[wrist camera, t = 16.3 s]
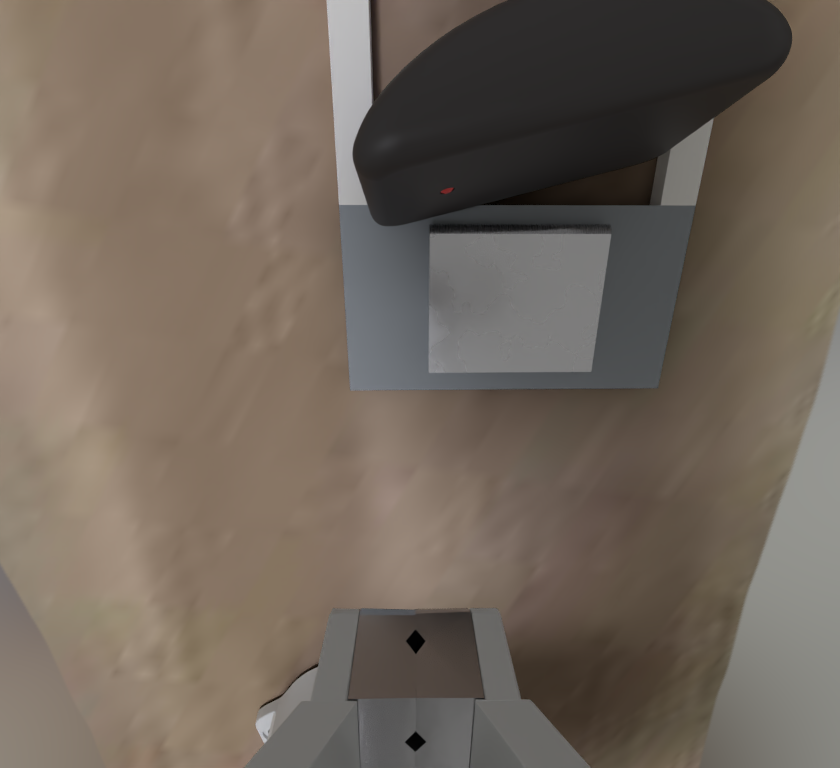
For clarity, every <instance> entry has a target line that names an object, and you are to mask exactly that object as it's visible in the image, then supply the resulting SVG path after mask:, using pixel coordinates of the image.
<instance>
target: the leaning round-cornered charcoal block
mask: <svg viewBox="0 0 840 768" xmlns="http://www.w3.org/2000/svg"><path fill="white" fill-rule="evenodd" d="M791 44H792V32H791V28H790V26H789V24H788V22H787V20H786V19H785V17H784V16H783V14H782V13H781V12H780V11H779V10H778V9H777V8H776V7H775V6H774V5H773V4H771V3H770V2H768V1H767V0H508V1H505V2H503V3H501V4H498V5H496V6H494V7H492V8H490V9H488V10H486V11H484V12H482V13H480V14H478V15H476V16H474V17H473V18H471V19H469V20H468V21H466V22H464V23H462V24H461V25H459V26H457V27H456V28H454V29H453V30H451V31H450V32H448V33H447V34H445V35H444V36H442V37H441V38H439V39H438V40H437V41H435V42H434V43H433V44H432V45H430V46H429V47H428V48H426V49H425V50H424V51H423V52H421V53H420V54H419V55H418V56H417V57H416V58H415V59H413V60H412V61H411V62H410V63H409V64H408V65H407V66H406V67H404V68H403V70H402V71H401V72H400V73H399V74H398V75H397V76H396V77H395V78H394V79H393V80H392V81H391V82H390V83H389V84H388V85H387V87H386V88H385V89H384V90H383V91H382V92H381V94H380V95H379V96H378V97H377V99H376V100H375V101H374V103H373V104H372V106H371V107H370V109H369V110H368V112H367V114H366V116H365V117H364V119H363V121H362V123H361V126H360V128H359V130H358V133H357V135H356V138H355V141H354V145H353V152H352V155H353V162H354V166H355V169H356V172H357V175H358V178H359V181H360V184H361V187H362V190H363V193H364V196H365V199H366V202H367V205H368V208H369V211H370V214H371V216H372V218H373V220H374V221H375V222H376V223H378V224H379V225H382V226H399V225H404V224H409V223H412V222H416V221H420V220H424V219H428V218H432V217H436V216H439V215H443V214H447V213H451V212H455V211H459V210H463V209H466V208H470V207H474V206H478V205H482V204H486V203H490V202H493V201H497V200H501V199H505V198H509V197H513V196H516V195H520V194H524V193H528V192H532V191H536V190H540V189H543V188H547V187H551V186H555V185H559V184H563V183H567V182H570V181H574V180H578V179H582V178H586V177H590V176H594V175H597V174H601V173H605V172H609V171H613V170H617V169H620V168H624V167H628V166H632V165H636V164H639V163H642V162H645V161H648V160H651V159H653V158H656V157H658V156H660V155H663V154H664V153H666V152H667V151H669V150H670V149H671V148H673V147H674V146H676V145H677V144H678V143H680V142H681V141H682V140H684V139H685V138H687V137H688V136H689V135H691V134H692V133H694V132H695V131H696V130H698V129H699V128H700V127H702V126H703V125H705V124H706V123H707V122H709V121H710V120H712V119H713V118H714V117H716V116H717V115H718V114H720V113H721V112H723V111H724V110H725V109H727V108H728V107H730V106H731V105H732V104H734V103H735V102H736V101H738V100H739V99H741V98H742V97H743V96H745V95H746V94H748V93H749V92H750V91H752V90H753V89H754V88H756V87H757V86H759V85H760V84H761V83H763V82H764V81H766V80H767V79H768V78H770V77H771V76H772V75H773V74H774V73H775V72H776V71H777V70H778V69H779V68H780V67H781V66H782V64H783V63H784V61H785V60H786V58H787V56H788V54H789V51H790V48H791Z"/></svg>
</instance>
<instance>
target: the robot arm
mask: <svg viewBox="0 0 840 768" xmlns="http://www.w3.org/2000/svg"><path fill="white" fill-rule="evenodd" d="M256 728H257V730H258V732H259V734H260V736H261V738H262V740H263V742H264V745H263V746H262V747H261V748H260V749H259V751H258V752H257V753H256V754H255V755H254V756H253V758H252V759H251V760H250V761H249V762H248V763H247V765H246V766H245V767H244V768H591V767H590V766H589V765H588V764H587V763H586V762H585V761H584V759H583V758H582V757H581V756H580V755H579V754H578V753H577V751H576V750H575V749H574V748H573V747H572V746H571V745H570V744H569V742H568V741H567V740H566V739H565V738H564V737H563V736H562V735H561V733H560V732H559V731H558V730H557V729H556V728H555V727H554V725H553V724H552V723H551V722H550V721H549V720H548V719H547V718H546V716H545V715H544V714H543V713H542V712H541V711H540V710H539V709H538V707H537V706H536V705H535V704H534V703H533V702H532V701H531V700H529V699H521V696H520V692H519V688H518V684H517V680H516V676H515V672H514V667H513V663H512V659H511V655H510V651H509V647H508V643H507V639H506V635H505V630H504V626H503V622H502V618H501V614H500V612H499V610H498V609H497V608H470V609H468V608H453V609H415V610H405V609H364V608H361V609H341V608H333V609H332V611H331V613H330V615H329V618H328V623H327V627H326V632H325V636H324V641H323V646H322V650H321V655H320V659H319V664H318V667H317V668H314V669H312V670H310V671H308V672H307V673H305V674H304V675H302V676H301V677H299V678H298V679H297V680H296V681H295V682H294V683H293V684H292V685H291V686H290V687H289V689H288V690H287V691H286V692H285V694H284V695H283V696H282V697H280V698H279V699H277V700H275V701H273V702H271V703H269V704H267V705H265V706H264V707H262V708H261V709H260V710H259V711H258V715H257V719H256Z"/></svg>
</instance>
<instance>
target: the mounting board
mask: <svg viewBox="0 0 840 768" xmlns="http://www.w3.org/2000/svg"><path fill="white" fill-rule="evenodd" d="M327 12H328V29H329V46H330V62H331V79H332V95H333V112H334V129H335V145H336V162H337V179H338V195H339V212H340V229H341V245H342V262H343V279H344V295H345V312H346V329H347V345H348V362H349V378H350V390H473V389H618V388H658V385H659V380H660V375H661V370H662V366H663V361H664V356H665V351H666V346H667V341H668V337H669V332H670V327H671V322H672V317H673V313H674V308H675V303H676V298H677V293H678V288H679V284H680V279H681V274H682V269H683V264H684V259H685V255H686V250H687V245H688V240H689V235H690V231H691V226H692V221H693V216H694V211H695V206H696V202H697V197H698V192H699V187H700V182H701V177H702V173H703V168H704V163H705V158H706V153H707V149H708V144H709V139H710V134H711V129H712V124H713V120H714V118H713V119H712V120H710V121H709V122H707V123H706V124H705V125H703V126H702V127H700V128H699V129H698V130H696V131H695V132H694V133H692V134H691V135H689V136H688V137H687V138H685V139H684V140H682V141H681V142H680V143H678V144H677V145H676V146H674V147H673V148H671V149H670V150H669V151H667V152H666V153H664V154H663V155H660V156H658V159H657V165H656V171H655V176H654V182H653V188H652V194H651V200H650V205H478V206H474V207H470V208H466V209H463V210H459V211H455V212H451V213H447V214H443V215H439V216H436V217H432V218H428V219H424V220H420V221H416V222H412V223H409V224H404V225H399V226H382V225H379V224H378V223H376V222H375V221H374V220H373V218H372V216H371V214H370V211H369V208H368V205H367V202H366V199H365V196H364V193H363V190H362V187H361V184H360V181H359V178H358V175H357V172H356V169H355V166H354V162H353V155H352V152H353V145H354V141H355V138H356V135H357V133H358V130H359V128H360V126H361V123H362V121H363V119H364V117H365V116H366V114H367V112H368V110H369V109H370V107H371V106H372V104H373V103H374V100H373V68H372V37H371V5H370V0H327ZM429 224H609V225H611V229H612V233H611V240H610V247H609V254H608V260H607V267H606V274H605V281H604V288H603V295H602V302H601V308H600V315H599V322H598V329H597V336H596V343H595V350H594V356H593V363H592V370H591V372H486V373H429V371H428V318H429Z"/></svg>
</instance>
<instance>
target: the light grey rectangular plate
mask: <svg viewBox="0 0 840 768" xmlns="http://www.w3.org/2000/svg"><path fill="white" fill-rule="evenodd" d="M611 233H612V229H611V225H609V224H429V318H428V371H429V373H486V372H591V370H592V363H593V356H594V350H595V343H596V336H597V329H598V322H599V315H600V308H601V302H602V295H603V288H604V281H605V274H606V267H607V260H608V254H609V247H610V240H611Z"/></svg>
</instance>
